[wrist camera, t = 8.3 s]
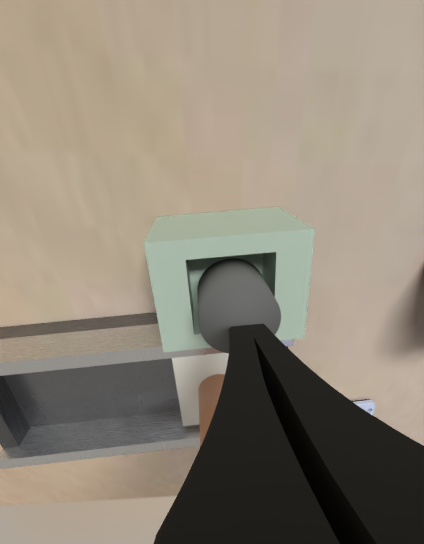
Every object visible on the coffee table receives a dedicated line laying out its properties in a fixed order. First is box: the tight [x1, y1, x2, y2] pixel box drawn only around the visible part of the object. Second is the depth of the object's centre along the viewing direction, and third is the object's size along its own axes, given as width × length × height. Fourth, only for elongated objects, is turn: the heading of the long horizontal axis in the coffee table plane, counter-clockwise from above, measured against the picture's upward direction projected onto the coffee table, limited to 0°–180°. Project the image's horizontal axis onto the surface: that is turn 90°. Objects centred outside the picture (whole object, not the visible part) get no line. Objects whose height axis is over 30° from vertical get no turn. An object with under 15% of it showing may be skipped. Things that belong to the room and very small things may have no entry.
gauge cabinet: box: [144, 207, 315, 352], centre depth 16 cm, size 6×8×6 cm
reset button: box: [197, 258, 281, 354], centre depth 13 cm, size 4×4×3 cm
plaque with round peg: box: [172, 353, 229, 447], centre depth 18 cm, size 7×6×6 cm
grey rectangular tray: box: [0, 312, 294, 469], centre depth 20 cm, size 10×22×4 cm, turn 94°
